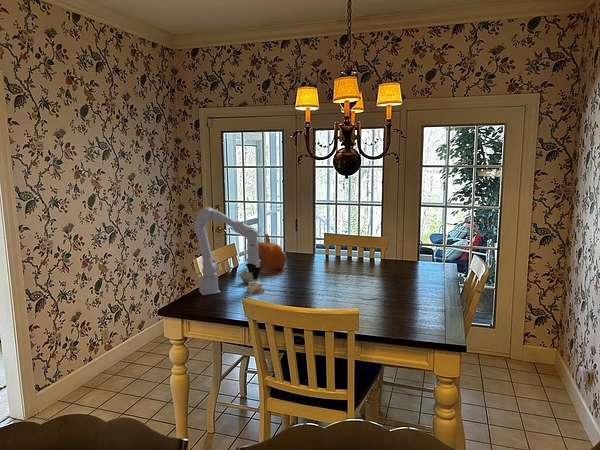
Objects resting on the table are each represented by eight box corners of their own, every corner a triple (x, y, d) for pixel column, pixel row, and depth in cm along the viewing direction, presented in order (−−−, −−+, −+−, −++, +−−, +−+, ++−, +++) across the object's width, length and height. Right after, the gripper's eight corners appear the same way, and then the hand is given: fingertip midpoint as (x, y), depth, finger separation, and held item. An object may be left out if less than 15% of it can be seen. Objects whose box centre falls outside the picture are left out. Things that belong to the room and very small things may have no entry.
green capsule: (251, 282, 227) (251, 274, 226) (248, 280, 231) (248, 272, 230) (259, 281, 229) (259, 273, 228) (256, 279, 233) (256, 271, 232)
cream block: (251, 289, 226) (251, 285, 226) (248, 286, 231) (248, 282, 231) (261, 288, 228) (261, 283, 228) (258, 285, 233) (258, 281, 233)
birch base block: (251, 295, 226) (251, 290, 226) (246, 291, 232) (246, 286, 232) (264, 293, 229) (264, 288, 229) (259, 289, 235) (259, 284, 235)
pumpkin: (267, 263, 288) (266, 229, 285) (295, 270, 271) (294, 233, 268) (240, 270, 272) (239, 234, 269) (268, 278, 255) (267, 239, 252)
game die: (251, 288, 247) (261, 274, 248) (245, 287, 239) (256, 272, 240) (239, 279, 250) (249, 265, 251) (233, 278, 242) (243, 263, 243)
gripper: (265, 254, 222) (266, 280, 225) (255, 248, 235) (256, 273, 238) (252, 255, 219) (253, 282, 222) (242, 250, 232) (243, 275, 235)
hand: (253, 278), depth 229 cm, fingers closed on green capsule, 4 cm apart
